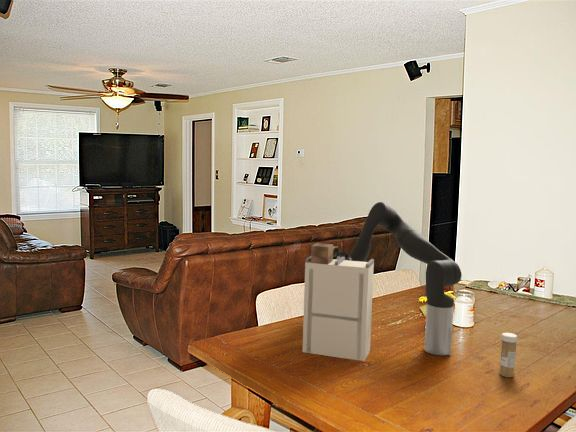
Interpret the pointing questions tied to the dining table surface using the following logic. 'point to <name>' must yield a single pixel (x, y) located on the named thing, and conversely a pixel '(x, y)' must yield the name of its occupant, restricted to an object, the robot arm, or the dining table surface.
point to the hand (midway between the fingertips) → (329, 249)
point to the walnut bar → (322, 253)
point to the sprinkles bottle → (508, 354)
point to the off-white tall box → (338, 308)
